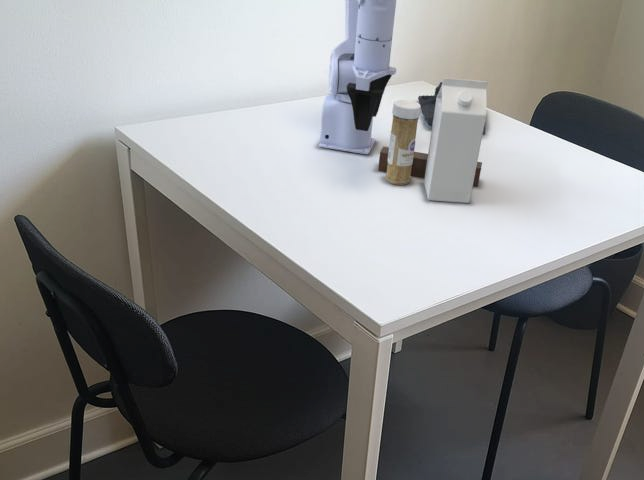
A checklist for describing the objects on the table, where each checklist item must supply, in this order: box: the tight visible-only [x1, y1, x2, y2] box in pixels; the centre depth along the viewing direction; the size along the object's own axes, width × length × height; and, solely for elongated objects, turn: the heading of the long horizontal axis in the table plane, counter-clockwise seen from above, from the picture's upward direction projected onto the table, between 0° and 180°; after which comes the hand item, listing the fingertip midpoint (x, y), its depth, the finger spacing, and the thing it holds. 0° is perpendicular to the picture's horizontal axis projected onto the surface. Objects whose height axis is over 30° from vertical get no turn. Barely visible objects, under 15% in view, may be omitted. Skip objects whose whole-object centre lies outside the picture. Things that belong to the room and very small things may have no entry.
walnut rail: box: [377, 146, 483, 188], centre depth 128 cm, size 18×3×4 cm, turn 80°
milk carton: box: [423, 77, 489, 204], centre depth 118 cm, size 7×7×19 cm
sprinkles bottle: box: [384, 99, 421, 186], centre depth 122 cm, size 5×5×14 cm
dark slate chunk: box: [417, 81, 486, 136], centre depth 155 cm, size 15×22×5 cm
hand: (366, 122), depth 121 cm, fingers open, 7 cm apart
